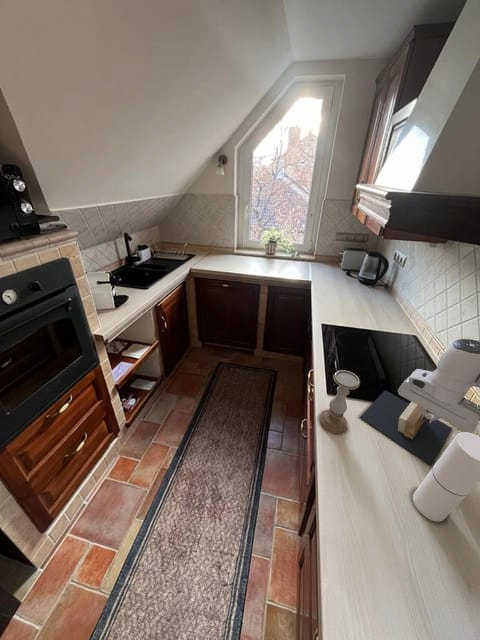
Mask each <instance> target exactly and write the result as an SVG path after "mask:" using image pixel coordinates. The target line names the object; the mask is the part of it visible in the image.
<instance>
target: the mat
mask: <svg viewBox="0 0 480 640" xmlns="http://www.w3.org/2000/svg"><path fill="white" fill-rule="evenodd" d="M409 404H410V403H408V402H407V401H405V400H404V399H402V398H400V397H398V396H396V395H395V394H393V393H391V392H389V391H388V390H387V389H385V390H384V391H383V392H382V393H381V394H380V395H379V396H378V397H377V398H376V399H375V400H374V402H372V404H370V405H369V407H367V409H366V410H365V411H364V412H363V413H362V414H361V415H360V417H359V418H360V419H361V420H362V421H364V422H366V423H367V424H369V425H370V426H371V427H373V428H374V429H376V430H377V431H379V432H380V433H382V434H383V435H385V436H386V437H387V438H388V439H390V440H392V441H393V442H395V443H396V444H397V445H399V446H400V447H402V448H404V449H405V450H406V451H408V452H409V453H411V454H413V455H414V456H415V457H417V458H418V459H420V460H421V461H422V462H424V463H425V464H427V465H428V466H429V467H433V465H434V462H435V460H436V459H437V456H438V455H439V453H440V451H441V449H442V447H443V445H444V443H445V442H446V440H447V437H448V436H449V433H450V431H451V430H452V427H450V426H449V425H447V424H445V423H443V421H441V420H439V419H438V420H434V421H433V420H432V422H431V424H430V423H428V422H427V421H424V423H423V424H422V426H421V427H420V429H419V430H418V432H417V433H416V435H415V436H414V438H413V439H411V438H409V437H406V436H404V433H402V432H399V431H398V424H399V417H400V416H401V415H402V413H403V412H404V411H405V409H406V408H407V407H408V405H409Z"/></svg>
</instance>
